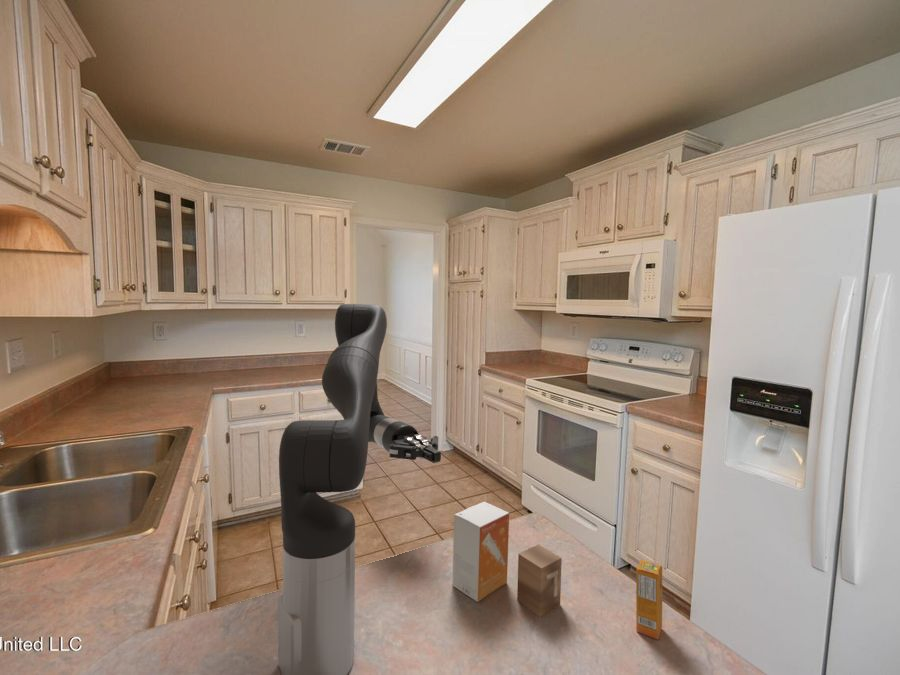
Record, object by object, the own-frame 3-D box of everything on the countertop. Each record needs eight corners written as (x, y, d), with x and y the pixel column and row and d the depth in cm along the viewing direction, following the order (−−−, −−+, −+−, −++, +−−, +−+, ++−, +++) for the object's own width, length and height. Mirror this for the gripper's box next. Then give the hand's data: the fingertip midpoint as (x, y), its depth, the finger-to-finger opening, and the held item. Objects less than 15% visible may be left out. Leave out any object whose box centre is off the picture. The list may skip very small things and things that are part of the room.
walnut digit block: (541, 618, 66) (542, 569, 65) (517, 599, 70) (518, 553, 70) (561, 605, 69) (563, 558, 68) (537, 588, 73) (538, 544, 72)
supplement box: (638, 618, 66) (640, 557, 65) (662, 628, 64) (664, 565, 63) (633, 631, 63) (636, 567, 63) (658, 641, 61) (661, 576, 61)
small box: (478, 604, 69) (479, 527, 68) (451, 585, 73) (452, 513, 73) (508, 583, 74) (510, 512, 74) (481, 567, 79) (483, 500, 78)
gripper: (370, 425, 93) (410, 445, 80) (419, 417, 101) (463, 434, 88) (369, 457, 94) (409, 483, 80) (419, 447, 102) (462, 469, 88)
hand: (437, 457), depth 84 cm, fingers closed
